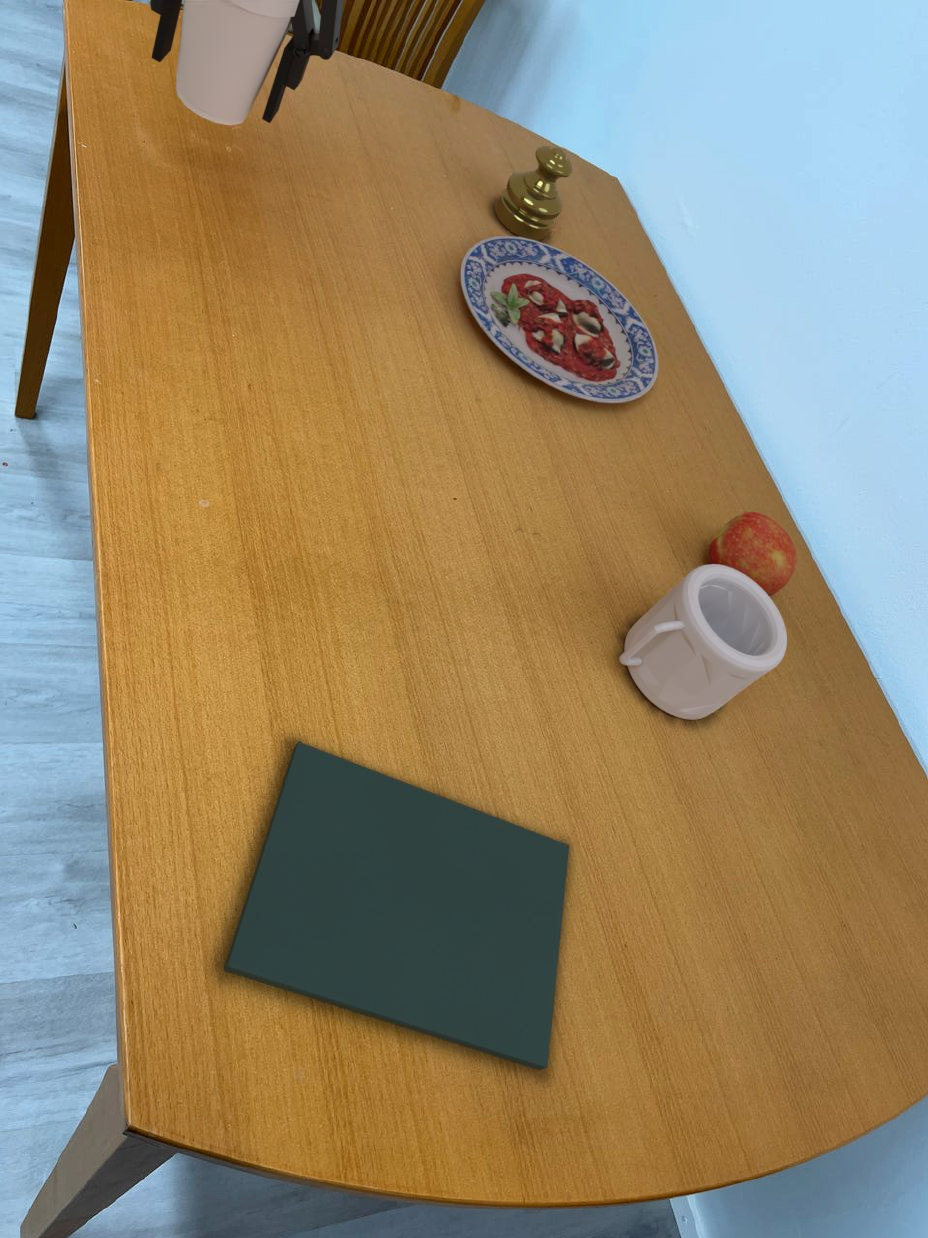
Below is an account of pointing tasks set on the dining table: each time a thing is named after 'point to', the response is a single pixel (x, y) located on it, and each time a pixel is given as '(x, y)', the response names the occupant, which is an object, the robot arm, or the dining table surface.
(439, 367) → the dining table surface
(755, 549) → the apple
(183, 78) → the foam cup
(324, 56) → the robot arm
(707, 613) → the mug
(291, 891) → the mat
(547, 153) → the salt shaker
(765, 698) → the dining table surface
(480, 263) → the ceramic plate
